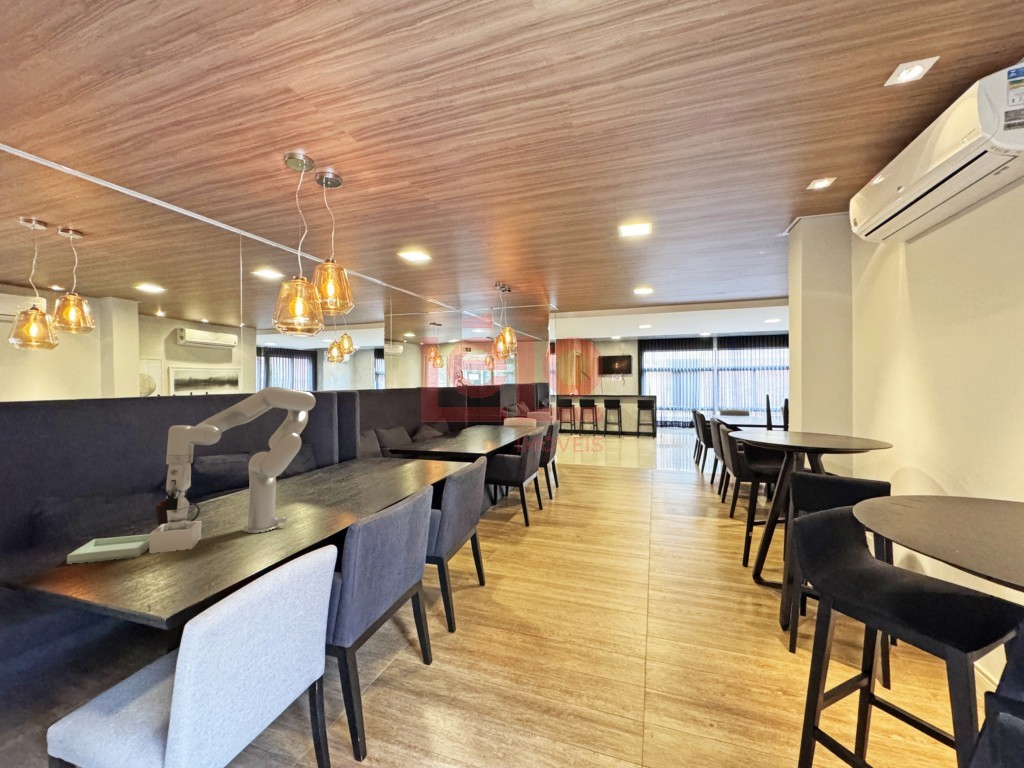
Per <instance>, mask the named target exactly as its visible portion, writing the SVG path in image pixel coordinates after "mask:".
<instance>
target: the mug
mask: <svg viewBox="0 0 1024 768" xmlns="http://www.w3.org/2000/svg"><path fill="white" fill-rule="evenodd" d="M187 501H188V502H189V500H188V499H187ZM189 505H190V506H191V505H193V506H195V507H196V508H197V514H196V515H195V516H194V517H193V518H192V519H191V520H189V522H193V521H196V519H197V518H198V516H199V515H200V512H201V509H200V506H199V505H198V504H196V503H194V502H189ZM155 514H156V519H157V525H158V527H159V526H160V525H162V524H168V516H167V510H166V500H162V501H159V502H157V503H156V504H155Z"/></svg>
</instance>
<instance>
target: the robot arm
mask: <svg viewBox="0 0 1024 768" xmlns="http://www.w3.org/2000/svg"><path fill="white" fill-rule="evenodd" d="M316 402H317V401H316V397H315V395H314V394H312V393H311V392H308V391H304V390H303V391H302V390H297V389H292V388H291V389H290V388H285V387H279V386H268V387H264V388H262V389H260V390H259V391H257V392H255V393H254V394H252V395H250V396H248V397H247V398H245V399H244V400H243V399H242V400H241V401H240V402H238V403H235V404H234V405H232V406H230V407H228V408H226V409H224V410H222V411H220V412H218V413H216V414H214V415H212V416H210V417H208V418H207V419H205V420H202V422H200V423H198V424H196V425H195V426H193V425H187V424H186V425H185V424H184V425H180V424H179V425H172V426H170V427H169V429H168V435H167V436H168V437H167V448H166V449H167V450H166V459H165V460H166V461H165V464H166V465H168V469H167V476H166V484H165V487H166V497H165V498H166V500H165V501H166V510H176V509H177V506H178V498H177V496H178V492H179V491H181V492H183V491H185V495H184V497H185V498H186V499H187V498H188V489H190V488H191V486H192V481H191V479H192V478H191V477H192V465H191V464H193V461H194V448H195V445H202V446H210V445H214V444H216V443H218V442H219V441H220V439H221V438H222V433H223V432H225V431H227V430H229V429H231V428H233V427H236V426H241V425H244V424H247V423H250V422H252V421H253V420H254V419H255V420H256V418H258V417H259V416H261V415H263V414H264V413H266V412H268V411H269V410H271V409H273V408H278V409H284V410H287V416H286V418H285V419H284V420H283V422H282V424H280V426H279V427H278V428H277V430H275V432H274V433H273V434H272V435H271V437H270V438H269V440H268V447H269V448H270V450H269V451H259V452H257V453H255V454H253V455H252V456H251V457H250V460H249V462H248V476H249V477H248V479H249V488H248V489H249V490H248V491H249V492H248V511H247V513H248V514H247V525H244V526H243V528H242V531H243V532H244V533H246V532H247V534H258V533H259V532H261V533H265V531H267V532H270V531H269V530H271V531H273V530H272V529H274V530H276V529H278V528H277V527H279V524H283V523H284V524H285V523H287V519H288V517H284V516H283V517H279V516H278V517H277V514H276V495H277V491H276V490H277V477H278V476H281V474H282V473H283V472H284V470H286V469H287V467H288V466H289V464H290V463H291V462H292V461H293V460H294V459H295V457H296V455H297V454H298V453H299V452H300V450H301V447H302V438H301V436H300V434H302V432H303V431H304V430H305V428H306V426H307V424H308V420H309V411H311V410H313V408H314V407H315V406H316ZM174 493H175V494H174ZM187 500H188V499H187ZM275 528H276V529H275ZM259 534H260V533H259Z"/></svg>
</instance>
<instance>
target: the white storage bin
mask: <svg viewBox="0 0 1024 768" xmlns="http://www.w3.org/2000/svg"><path fill="white" fill-rule="evenodd" d="M186 524H187V529H183V530H171V531H167V527H168V524H162V525H160V526H158V527H156V528H155V529H153V530H151V532H150V533H149V534H150V546H149V549H148V550H149V551H148V554H149V553H151V554H157V553H156V552H160V553H167V552H166V551H169V552H176V550H179V551H187V550H186V549H188V550H192V549H193V548H194V547H195V546H196V545H197V544H198V543H199V542H200V541H201V540H202V520H194V521H192V522H190V521H186ZM200 539H201V540H200ZM199 540H200V541H199ZM198 541H199V542H198Z"/></svg>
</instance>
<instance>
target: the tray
mask: <svg viewBox="0 0 1024 768" xmlns="http://www.w3.org/2000/svg"><path fill="white" fill-rule="evenodd" d="M149 546H150V533H149V534H140V535H139V534H138V535H137V534H136V535H129V536H128V535H127V536H126V535H125V536H117V537H106V538H93V539H92V540H90V541H88V542H86V543H85V544H84V545H82V546H80V547H79V548H76V549H75V550H73V551H72V552H71V553H69V554H67V555H66V556H67V557H66V565H67V564H70V565H73V564H72V563H79V564H86V563H85V562H88V563H94V562H95V561H97V562H105V561H106V560H107V561H114V559H116V560H123V558H125V559H133V558H132V557H135V558H139V557H140V556H141V554H142V553H143V554H144V553H145V552H146V551H148V550H149V549H148V548H149ZM147 549H148V550H147ZM143 554H142V555H143ZM95 563H96V562H95Z"/></svg>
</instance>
